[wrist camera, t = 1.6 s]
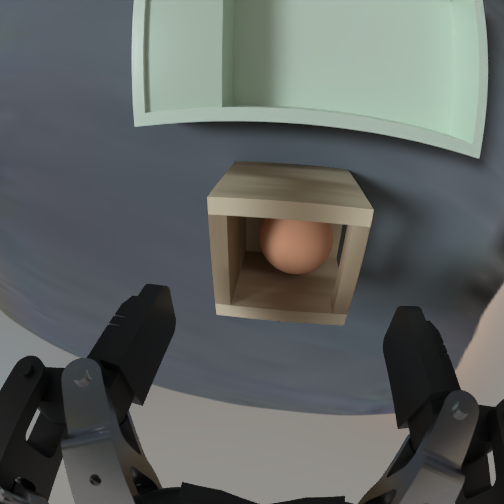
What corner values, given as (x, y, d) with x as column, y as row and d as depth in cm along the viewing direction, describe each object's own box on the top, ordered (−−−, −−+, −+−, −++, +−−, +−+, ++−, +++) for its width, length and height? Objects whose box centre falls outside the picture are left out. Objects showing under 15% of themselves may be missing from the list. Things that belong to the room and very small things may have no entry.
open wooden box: (236, 253, 18) (216, 314, 13) (235, 161, 14) (207, 196, 10) (333, 261, 17) (343, 325, 12) (348, 169, 14) (374, 209, 9)
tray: (164, -36, 8) (140, -54, 6) (452, -9, 6) (478, -21, 4) (161, 119, 14) (134, 127, 11) (450, 145, 12) (479, 159, 9)
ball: (255, 189, 14) (267, 222, 11) (323, 188, 14) (351, 220, 11) (254, 249, 16) (263, 292, 13) (316, 246, 16) (336, 286, 13)
